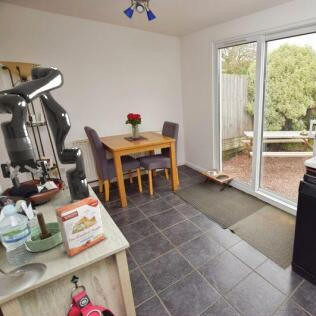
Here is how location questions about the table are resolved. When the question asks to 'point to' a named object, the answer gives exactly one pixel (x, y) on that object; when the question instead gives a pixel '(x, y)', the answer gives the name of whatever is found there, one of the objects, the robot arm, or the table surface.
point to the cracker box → (80, 225)
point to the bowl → (46, 243)
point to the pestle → (43, 227)
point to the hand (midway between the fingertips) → (30, 185)
